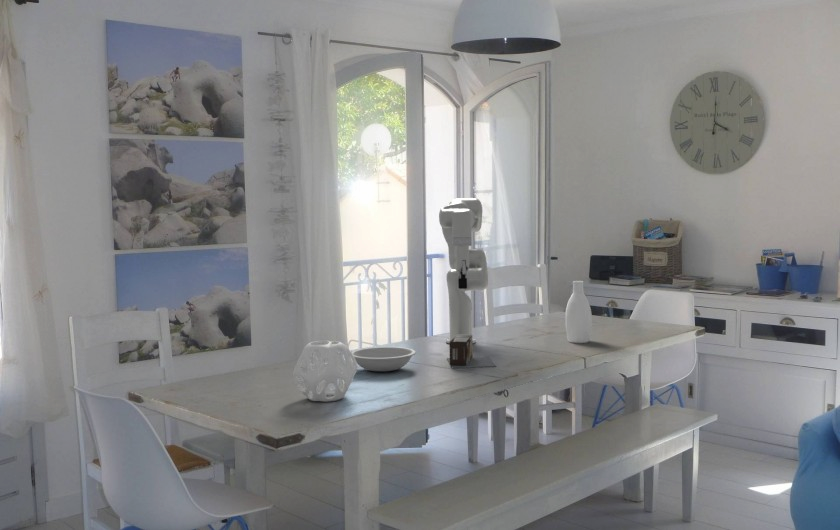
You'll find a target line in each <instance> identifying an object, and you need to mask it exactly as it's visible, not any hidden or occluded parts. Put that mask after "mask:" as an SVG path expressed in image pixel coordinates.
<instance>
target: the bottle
mask: <svg viewBox="0 0 840 530" xmlns="http://www.w3.org/2000/svg"><path fill="white" fill-rule="evenodd" d="M584 291H585V290H584V281H583V280H573V281H572V294H571V296H570V297H569V298H568V301H567V303H566V304H567V305H566V307H565V311H564V313H565V314H564V318H565V320H564V321H565V332H566V337H567V338H566V339H567V342H569V343H573V344H583V343H585V344H586V343H589V342H590V339H591V333H592V320H593V319H592V318H593V315H592V309H591V305H590V301H589V300H588V298H587V296H586V295H585V292H584Z"/></svg>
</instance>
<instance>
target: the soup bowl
mask: <svg viewBox="0 0 840 530" xmlns="http://www.w3.org/2000/svg"><path fill="white" fill-rule="evenodd" d="M350 351H351V350H350ZM351 352H352V354H353V356H354V358H355V360H356V362H357V366H360V367H361V368H362V369H365V370H367V371H371V372H372V371H373V372H392V371H396V370H399V369H401V368H403V367H405V365H407V364H408V363H409V362H410V361H411V358H412V357H413V356H414V355H415V354H416V353H417V351H416V350H415V349H413V348H408V347H402V346H398V347H397V346H373V347H365V348H358V349H354V350H352V351H351Z"/></svg>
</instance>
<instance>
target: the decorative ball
mask: <svg viewBox="0 0 840 530" xmlns="http://www.w3.org/2000/svg"><path fill="white" fill-rule="evenodd" d="M339 350H340V351H339ZM316 352H319V353H320V357H319V358H320V359H319V358H318V357H317V354H316ZM312 358H313V363H312V361H311V360H312ZM326 360H327V362H326ZM303 368H307V372H304V371H303ZM357 371H358V364H357V362H356V360H355V358H354V356H353V354H352V352H351V350H350V348H349V347H348V346H347V345H346V344H345V343H343V342H341V341H338V340H332V341H330V340H315V341H311V342H309V343H307V344H306V345H305V346H304V347H303V350H302V353H301V354H300V356H299V358H298V360H297V362H296V364H295V366H294V369H293V371H292V377H293V380H294V382H295V385H296V386H297V388H298V390H299V391H300V392H301V393H302V394H303V395H304V396H305V397H306V398H307V399H308V400H310V401H312V402H325V403H326V402H330V403H331V402H336V401H339V400H342V399H343V398H344V397H345V396H346V394H347V392H348V390H349V389H350V386H351V383H352V381H353V379H354V377H355V375H356V373H357ZM323 380H325V381H323ZM302 384H303V385H304V386H305V387H303V386H302ZM330 384H333V385H334V388H335V389H332V388H331V387H330ZM328 396H330V397H328Z"/></svg>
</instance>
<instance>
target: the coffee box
mask: <svg viewBox="0 0 840 530" xmlns="http://www.w3.org/2000/svg"><path fill="white" fill-rule="evenodd" d="M472 338H473V333H472V334H457V335H456V336H455V337H454V338H453V339H452V340H451V341H450V344H449V358H450V364H449V366H450V367H451V366H466V365H467V364H468V362H469V361H470V360H471V358H472V357H473V355H474V354H473V353H474V352H473V351H474V349H473V346H474V345H473V343H472Z"/></svg>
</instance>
